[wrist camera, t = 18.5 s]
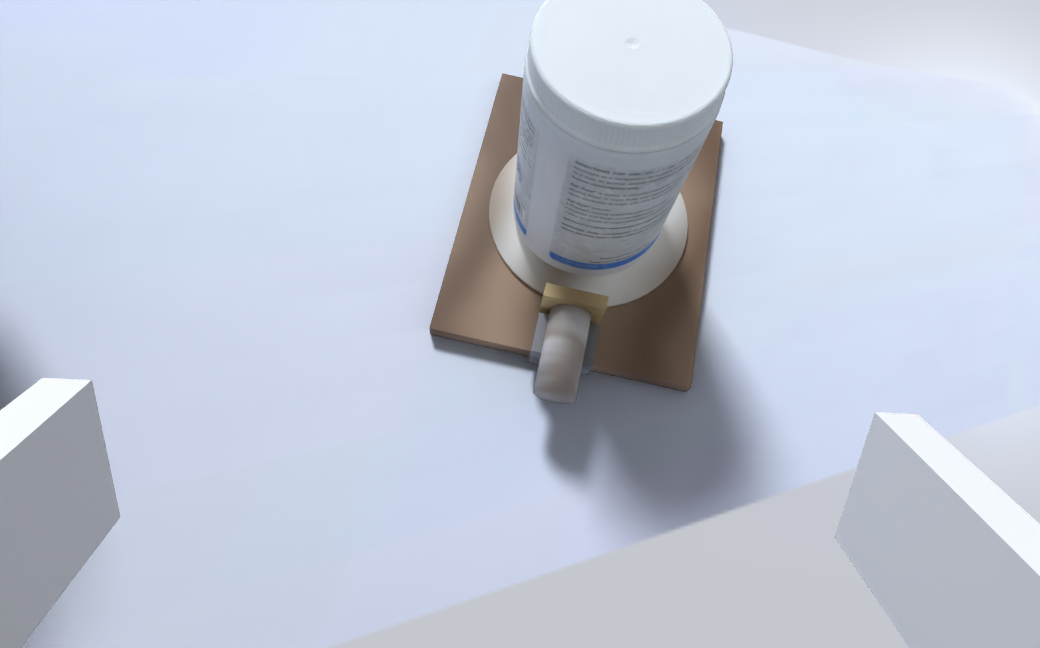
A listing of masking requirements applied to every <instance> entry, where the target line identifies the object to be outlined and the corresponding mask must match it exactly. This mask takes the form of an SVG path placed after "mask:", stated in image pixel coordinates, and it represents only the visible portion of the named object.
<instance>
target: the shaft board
mask: <svg viewBox="0 0 1040 648" xmlns="http://www.w3.org/2000/svg"><path fill="white" fill-rule="evenodd" d="M522 87H523V78H521V77H516V76H511V75H507V74H502V77H501V80H500V84H499V87H498V91H497V94H496V98H495V101H494V105H493V108H492V112H491V115H490V119H489V122H488V126H487V129H486V132H485V136H484V139H483V143H482V146H481V150H480V153H479V157H478V160H477V164H476V167H475V171H474V174H473V178H472V181H471V185H470V188H469V192H468V195H467V199H466V202H465V206H464V209H463V213H462V216H461V220H460V223H459V227H458V230H457V234H456V237H455V241H454V244H453V248H452V251H451V255H450V258H449V262H448V265H447V269H446V272H445V276H444V279H443V283H442V286H441V290H440V293H439V297H438V300H437V304H436V307H435V311H434V314H433V318H432V321H431V325H430V334H432V335H437V336H441V337H445V338H450V339H454V340H459V341H463V342H468V343H472V344H477V345H481V346H485V347H490V348H494V349H499V350H503V351H508V352H512V353H516V354H521V355H525V356H529V360H528V362H531V363H536V364H539V366H538V371H537V376H536V380H535V385H534V390H533V393H534V394H535V395H536V396H538V397H540V398H542V399H545V400H548V401H552V402H557V403H573V402H575V401H576V396H577V391H578V385H579V380H580V375H581V374H585V375H588V373H589V371H590V370H592V371H596V372H601V373H605V374H610V375H614V376H619V377H623V378H627V379H632V380H636V381H641V382H645V383H650V384H654V385H658V386H663V387H667V388H672V389H676V390H681V391H685V392H686V391H687V390H688V389H690V388H691V383H692V375H693V367H694V358H695V350H696V342H697V333H698V325H699V317H700V308H701V300H702V292H703V283H704V275H705V267H706V258H707V250H708V242H709V233H710V225H711V217H712V208H713V200H714V192H715V183H716V175H717V167H718V158H719V150H720V142H721V133H722V125H723V122H721V121H717V120H715V121H714V123H713V125H712V128H711V130H710V132H709V134H708V136H707V138H706V140H705V142H704V144H703V146H702V148H701V150H700V152H699V154H698V156H697V158H696V160H695V162H694V164H693V166H692V168H691V171H690V173H689V175H688V177H687V179H686V181H685V183H684V185H683V187H682V189H681V191H680V193H679V195H678V197H677V199H676V201H675V203H674V205H673V207H672V209H671V211H670V213H669V215H668V217H667V219H666V221H665V223H664V225H663V227H662V229H661V231H660V234H659V236H658V237H657V239H656V241H655V243H654V245H653V246H652V247H651V249H650V250H649V251H648V253H647V254H646V255H645V256H644V257H643V258H642V259H640V260H639V261H638V262H637V263H635V264H634V265H632V266H630V267H628V268H626V269H625V270H622V271H620V272H617V273H613V274H609V275H604V276H582V275H576V274H572V273H569V272H565V271H563V270H560V269H558V268H555V267H553V266H551V265H550V264H548V263H546V262H544V261H543V260H542V259H540V258H539V257H538V256H537V255H535V254H534V253H533V251H532V250H531V249H530V248H529V247H528V246H527V245H526V243H525V242H524V240H523V238H522V237H521V235H520V233H519V231H518V229H517V225H516V222H515V218H514V211H513V200H514V189H515V176H516V163H517V151H518V139H519V125H520V112H521V100H522Z"/></svg>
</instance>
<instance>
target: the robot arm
mask: <svg viewBox="0 0 1040 648" xmlns="http://www.w3.org/2000/svg"><path fill="white" fill-rule="evenodd" d="M119 518H120V513H119V508H118V503H117V499H116V494H115V489H114V484H113V479H112V475H111V470H110V465H109V460H108V455H107V451H106V446H105V441H104V436H103V431H102V426H101V422H100V417H99V412H98V407H97V402H96V398H95V393H94V388H93V383H92V380H80V379H56V378H42V379H40V380H39V381H38V382H36V383H35V384H34V385H33V386H31V387H30V388H29V389H27V390H26V391H25V392H24V393H22V394H21V395H20V396H18V397H17V398H16V399H14V400H13V401H12V402H11V403H9V404H8V405H7V406H5V407H4V408H3V409H2V410H0V648H21V647H22V645H23V644H24V643H25V641H26V640H27V639H28V637H29V636H30V635H31V633H32V632H33V631H34V629H35V628H36V627H37V626H38V624H39V623H40V622H41V620H42V619H43V618H44V616H45V615H46V614H47V612H48V611H49V610H50V608H51V607H52V606H53V605H54V603H55V602H56V601H57V599H58V598H59V597H60V595H61V594H62V593H63V591H64V590H65V589H66V587H67V586H68V585H69V584H70V582H71V581H72V580H73V578H74V577H75V576H76V574H77V573H78V572H79V570H80V569H81V568H82V566H83V565H84V564H85V563H86V561H87V560H88V559H89V557H90V556H91V555H92V553H93V552H94V551H95V549H96V548H97V547H98V545H99V544H100V543H101V542H102V540H103V539H104V538H105V536H106V535H107V534H108V532H109V531H110V530H111V528H112V527H113V526H114V524H115V523H116V522H117V521H118V519H119ZM835 539H836V540H837V542H838V543H839V545H840V546H841V548H842V549H843V550H844V552H845V554H846V555H847V556H848V558H849V560H850V561H851V562H852V564H853V565H854V567H855V568H856V570H857V571H858V573H859V574H860V576H861V577H862V579H863V580H864V582H865V583H866V585H867V586H868V588H869V589H870V590H871V592H872V593H873V595H874V596H875V598H876V599H877V601H878V602H879V604H880V605H881V607H882V608H883V609H884V611H885V613H886V614H887V615H888V617H889V618H890V620H891V621H892V623H893V624H894V626H895V627H896V629H897V630H898V632H899V633H900V635H901V636H902V638H903V639H904V640H905V642H906V643H907V645H908V646H909V648H1040V524H1039V523H1038V522H1037V521H1036V520H1034V519H1033V518H1032V517H1031V516H1030V515H1029V514H1028V513H1027V512H1026V511H1025V510H1023V509H1022V508H1021V507H1020V506H1019V505H1018V504H1017V503H1016V502H1015V501H1013V500H1012V499H1011V498H1010V497H1009V496H1008V495H1007V494H1006V493H1005V492H1003V491H1002V490H1001V489H1000V488H999V487H998V486H997V485H996V484H995V483H993V482H992V481H991V480H990V479H989V478H988V477H987V476H986V475H985V474H983V473H982V472H981V471H980V470H979V469H978V468H977V467H976V466H974V465H973V464H972V463H971V462H970V461H969V460H967V458H966V457H965V456H963V455H962V454H961V453H960V452H959V451H958V450H957V449H956V448H954V447H953V446H952V445H951V444H950V443H949V442H948V441H947V440H945V439H944V438H943V437H942V436H941V435H940V434H939V433H938V432H937V431H936V430H934V429H933V428H932V427H931V426H930V425H929V424H928V423H927V422H926V421H924V420H923V419H922V418H921V417H920V416H919V415H918V414H904V413H880V412H875V414H874V417H873V420H872V423H871V426H870V429H869V433H868V436H867V439H866V442H865V445H864V448H863V451H862V454H861V457H860V460H859V463H858V466H857V469H856V473H855V476H854V479H853V482H852V485H851V488H850V491H849V494H848V497H847V500H846V503H845V506H844V510H843V513H842V516H841V519H840V522H839V525H838V528H837V531H836V534H835Z"/></svg>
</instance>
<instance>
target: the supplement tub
mask: <svg viewBox="0 0 1040 648" xmlns="http://www.w3.org/2000/svg"><path fill="white" fill-rule="evenodd" d="M732 66H733V52H732V47H731V42H730V39H729V36H728V34H727V31H726V29H725V27H724V25H723V24H722V22H721V21H720V19H719V18H718V16H717V15H716V14H715V12H714V11H713V10H712V9H711V8H710V7H709V6H708V5H707V4H706V3H705V2H704V1H702V0H546V1H545V2H544V4H543V5H542V6H541V8H540V9H539V11H538V13H537V15H536V17H535V19H534V22H533V25H532V29H531V34H530V40H529V42H528V45H527V49H526V55H525V66H524V76H523V87H522V100H521V112H520V125H519V139H518V151H517V163H516V176H515V189H514V200H513V211H514V218H515V222H516V225H517V229H518V231H519V233H520V235H521V237H522V238H523V240H524V242H525V243H526V245H527V246H528V247H529V248H530V249H531V250H532V251H533V253H534V254H535V255H537V256H538V257H539V258H540V259H542V260H543V261H544V262H546V263H548V264H550V265H551V266H553V267H555V268H558V269H560V270H563V271H565V272H569V273H572V274H576V275H582V276H604V275H609V274H613V273H617V272H620V271H622V270H625V269H626V268H628V267H630V266H632V265H634V264H635V263H637V262H638V261H639V260H640V259H642V258H643V257H644V256H645V255H646V254H647V253H648V251H649V250H650V249H651V247H652V246H653V245H654V243H655V241H656V239H657V237H658V236H659V234H660V231H661V229H662V227H663V225H664V223H665V221H666V219H667V217H668V215H669V213H670V211H671V209H672V207H673V205H674V203H675V201H676V199H677V197H678V195H679V193H680V191H681V189H682V187H683V185H684V183H685V181H686V179H687V177H688V175H689V173H690V171H691V168H692V166H693V164H694V162H695V160H696V158H697V156H698V154H699V152H700V150H701V148H702V146H703V144H704V142H705V140H706V138H707V136H708V134H709V132H710V130H711V128H712V125H713V123H714V121H715V119H716V117H717V115H718V113H719V110H720V107H721V104H722V101H723V98H724V95H725V90H726V88H727V85H728V83H729V80H730V77H731V72H732Z"/></svg>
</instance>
